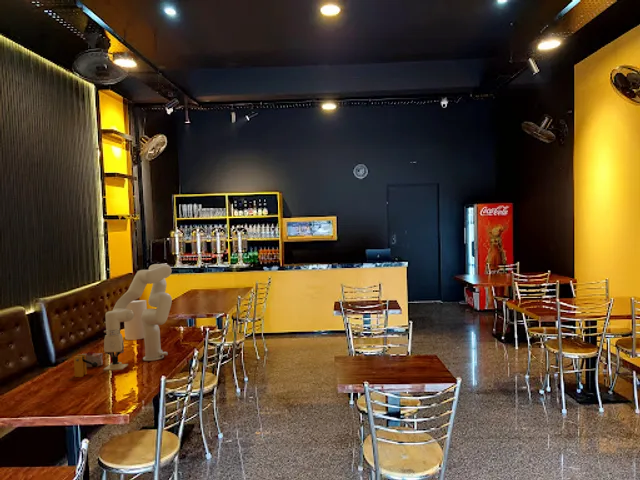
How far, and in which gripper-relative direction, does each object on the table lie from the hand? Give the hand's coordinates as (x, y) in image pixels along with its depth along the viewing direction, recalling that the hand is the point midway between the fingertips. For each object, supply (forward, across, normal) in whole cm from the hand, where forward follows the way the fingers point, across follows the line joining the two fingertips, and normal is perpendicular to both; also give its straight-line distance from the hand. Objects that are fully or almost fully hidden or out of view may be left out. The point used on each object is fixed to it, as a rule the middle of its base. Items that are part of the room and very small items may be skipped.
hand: (115, 363), depth 294 cm
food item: (+4, -18, +8) cm, 20 cm away
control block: (+4, 0, 0) cm, 4 cm away
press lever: (-3, -11, -12) cm, 17 cm away
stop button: (+2, 0, 0) cm, 2 cm away
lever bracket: (+4, -15, -12) cm, 19 cm away
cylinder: (+4, -18, +88) cm, 90 cm away
